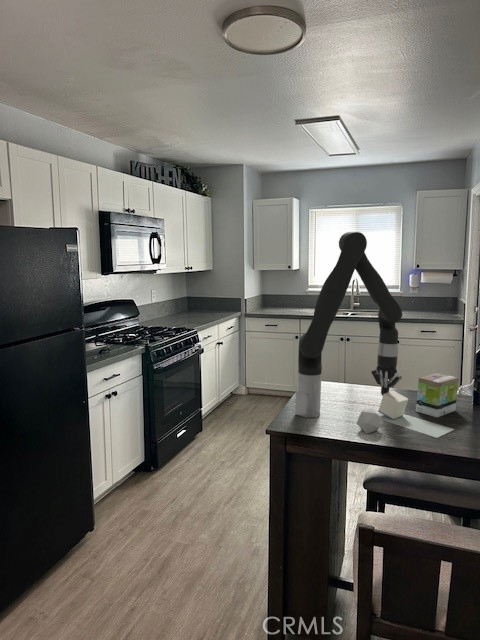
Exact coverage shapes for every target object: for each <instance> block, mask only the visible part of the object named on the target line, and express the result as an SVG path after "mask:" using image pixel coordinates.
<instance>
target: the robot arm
mask: <svg viewBox="0 0 480 640" xmlns="http://www.w3.org/2000/svg"><path fill="white" fill-rule="evenodd" d="M367 240H368V239H367V237H366V235H365V234H363V233H362V232H360V231H348V232H344V233H343V234H342V235H341V236H340V237H339V240H338V247H339V250H340V253H339V256H338V259H337V261H336V264H335V266H334V267H333V269H332V270H331V271H330V273H329V274H328V276H327V277H326V279H325V281H324V282H323V285H322V287H321V289H320V291H319V295H318V297H317V299H316V303H315V306H314V307H315V308H314V311H313V317H312V320H311V323H310V324H309V327H308V329H307V331H306V332H305V333H303V334H302V335H300V338H299V340H298V356H297V357H298V360H297V362H298V363H297V364H298V365H297V366H298V370H297V371H298V372H297V376H298V377H297V390H296V391H295V410H294V411H295V413H294V414H295V415H297V416H299V417H303V418H305V419H310V418H318V417H319V416H320V415H321V396H322V375H323V374H322V372H323V370H322V369H323V367H322V352H323V350H324V347H325V343H326V339H327V337H328V333H329V331H330V328H331V326H332V324H333V322H334V320H335V318H336V316H337V314H338V312H339V310H340V307H341V305H342V303H343V301H344V299H345V296H346V293H347V291H348V288H349V285H350V283H351V280H352V277H353V275H354V272H355V271H356V272H357V274H358V276H359V279H360V280H361V282H362V284H363V285H364V287H365V288H366V291H367V293H368V294H369V296H370V298H371V300H372V301H373V302H374V303H375V304H376V305H377V306H378V307H379V309H378V312H377V313H378V314H377V315H378V327H379V338H378V339H379V340H378V348H377V359H376V360H377V361H376V362H377V363H376V364H377V365H376V368H375V369H374V370H372V371H370V372H371V374H372V377H373V378H374V380H375V381H376V384H377V385H380V387H381V388H380V395H381V396H382V397H383V394H385V393H388V392H390V388H393V387H395V386H396V385H397V384H398V383H399V382H400V380H402V378H403V377H402V376H401V375H399V374H398V370H397V366H398V354H399V347H398V346H399V344H398V341H399V330H398V329H397V326H396V323H399V322H400V321H401V320H402V318H403V310H402V307H401V306H400V304H399V303H398V302H397V300H396V299H395V297H394V296H393V295H392V294H391V293H390V290H389V289H388V287H387V285H386V283H385V281H384V279H383V278H382V276H381V275H380V274H379V272H378V271H377V270H376V268H375V267H374V266H373V265H372V263H371V261H370V260H369V258H368V256H367V254H366V249H367V247H368V246H367V245H368V241H367Z"/></svg>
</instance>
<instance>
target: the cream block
mask: <svg viewBox="0 0 480 640" xmlns="http://www.w3.org/2000/svg"><path fill="white" fill-rule="evenodd" d="M381 398H382V399H381V401H380V404H379V408H378V410H377V411H378V413H382V414H383V415H385V416H387V417H388V418H390V419H392V420H395V419H398V418H400V417H403V415H404V414H405V411H406V408H407V406H408V402H409V398H408V397H406V396H405V395H402V394H400V393H398V392H396V391H394V390H392V391H389V392H388V393H385V394H383V396H382V397H381Z"/></svg>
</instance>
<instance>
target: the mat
mask: <svg viewBox="0 0 480 640" xmlns="http://www.w3.org/2000/svg"><path fill="white" fill-rule="evenodd" d="M376 414H377V415H379V416H380V417H381V418H382V421H383V422H387V423H390V424H393V425H397V426H400V427H402V428H406V429H409V430H412V431H415V432H419V433H421V434H423V435H427V436H428V437H430V438H431V437H432V438H435V439H439V438H441V437H444V436H445V435H447V434H449V433H451V432H455V430H456V429H455V428H452V427H449V426H445V425H442V424H438V423H435V422H432V421H429V420H425V419H421V418H418V417H414V416H412V415H408V414H405V413H404V415H403V417H400V418H398V419H395V420H392V419H390V418H388V417H387V416H385V415H383V414H382V413H380V412H378V413H377V412H376Z"/></svg>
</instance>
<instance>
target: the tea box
mask: <svg viewBox="0 0 480 640" xmlns="http://www.w3.org/2000/svg"><path fill="white" fill-rule="evenodd" d="M417 384H418V385H417V393H416V404H415V412H417V413H421V414H423V415H428V416H431V417H434V418H440V417H442V416H445V415H447V414H450V413H454V412H456V407H457V397H458V389H459V388H458V387H459V377H457V376H452V375H448V374H443V373H440V372H439V373H438V372H436V373H431V374H428V375H424V376H422V377H421V376H420V377H419V378H418V383H417Z"/></svg>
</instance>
